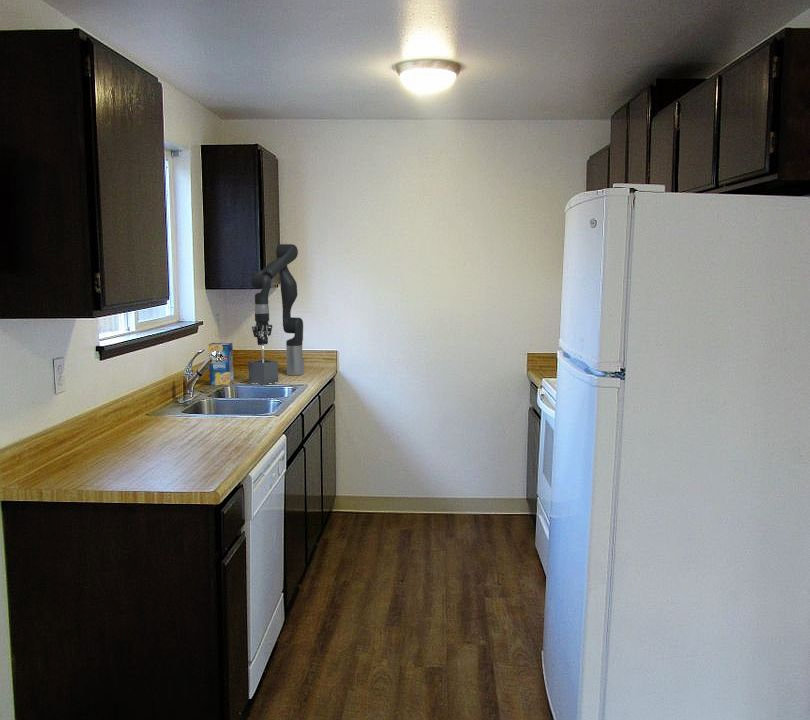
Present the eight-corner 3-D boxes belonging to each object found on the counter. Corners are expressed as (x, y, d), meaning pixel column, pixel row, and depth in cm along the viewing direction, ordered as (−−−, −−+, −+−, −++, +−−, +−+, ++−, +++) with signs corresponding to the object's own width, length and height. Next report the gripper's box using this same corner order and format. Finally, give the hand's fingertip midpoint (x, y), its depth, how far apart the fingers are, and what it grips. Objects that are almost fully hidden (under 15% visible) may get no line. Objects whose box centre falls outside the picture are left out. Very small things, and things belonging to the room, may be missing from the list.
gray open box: (263, 381, 406) (262, 359, 404) (278, 382, 400) (277, 361, 399) (249, 384, 397) (248, 361, 395) (264, 385, 391) (263, 363, 389)
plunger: (262, 364, 403) (262, 335, 401) (274, 365, 398) (273, 336, 396) (252, 366, 396) (251, 336, 394) (263, 367, 392) (263, 337, 389)
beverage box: (230, 385, 392) (228, 344, 389) (209, 385, 392) (208, 344, 389) (233, 383, 399) (232, 342, 396) (213, 383, 399) (212, 342, 396)
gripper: (265, 311, 401) (266, 342, 403) (247, 313, 389) (248, 345, 391) (276, 312, 397) (276, 343, 400) (257, 313, 385) (258, 346, 388)
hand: (262, 344), depth 396 cm, fingers closed on plunger, 4 cm apart
